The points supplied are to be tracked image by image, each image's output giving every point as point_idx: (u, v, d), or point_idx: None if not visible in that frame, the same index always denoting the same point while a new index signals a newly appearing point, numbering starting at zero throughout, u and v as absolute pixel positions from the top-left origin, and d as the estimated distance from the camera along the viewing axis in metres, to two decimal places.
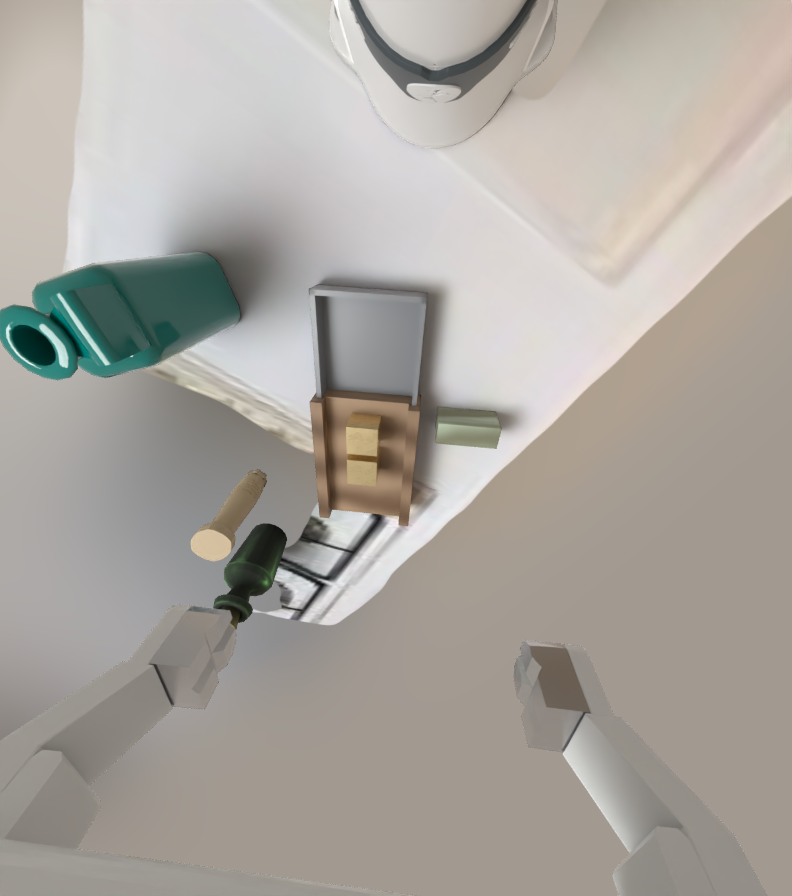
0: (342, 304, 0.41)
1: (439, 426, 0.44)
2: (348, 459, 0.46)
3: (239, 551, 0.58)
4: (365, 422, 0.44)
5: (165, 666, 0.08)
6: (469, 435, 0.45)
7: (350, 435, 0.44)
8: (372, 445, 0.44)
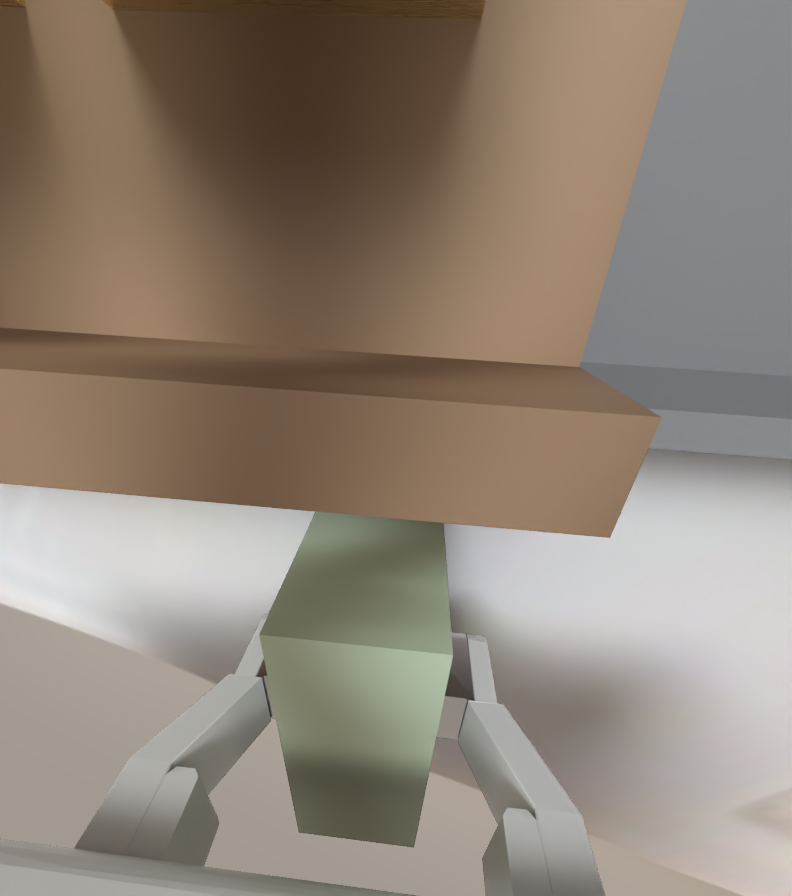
0: None
1: (424, 659, 0.05)
2: None
3: None
4: None
5: None
6: (360, 772, 0.07)
7: None
8: None
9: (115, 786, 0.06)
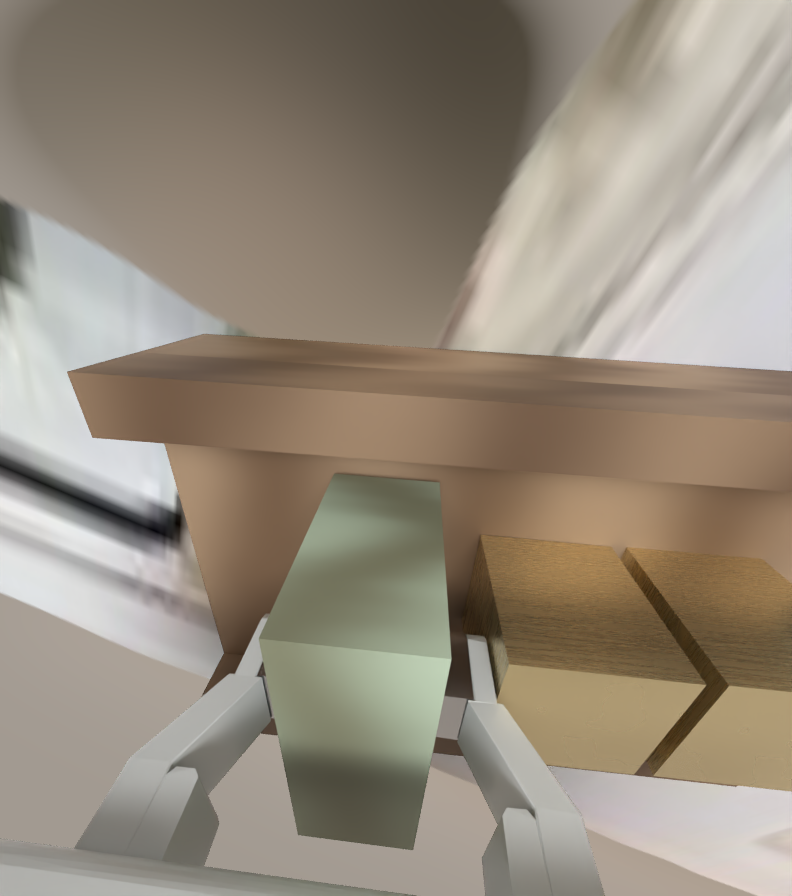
0: None
1: (422, 663, 0.05)
2: None
3: None
4: None
5: None
6: (359, 775, 0.07)
7: None
8: (731, 771, 0.08)
9: (115, 786, 0.06)
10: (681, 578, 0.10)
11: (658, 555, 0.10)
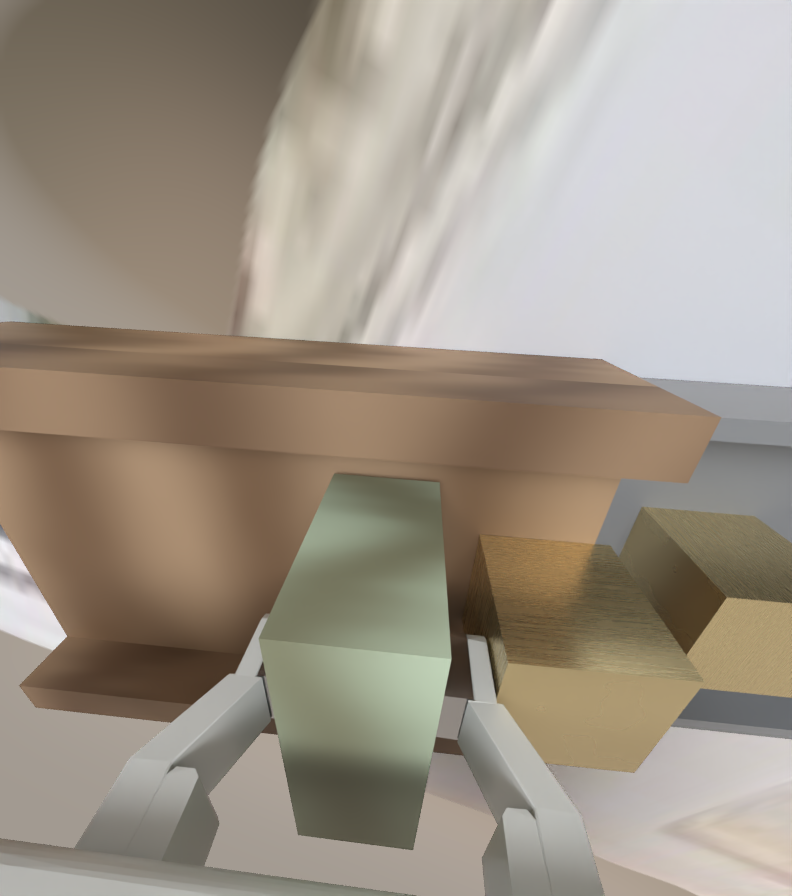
0: None
1: (422, 663, 0.05)
2: None
3: None
4: None
5: None
6: (359, 775, 0.07)
7: None
8: None
9: (114, 786, 0.06)
10: (741, 574, 0.10)
11: (713, 574, 0.10)
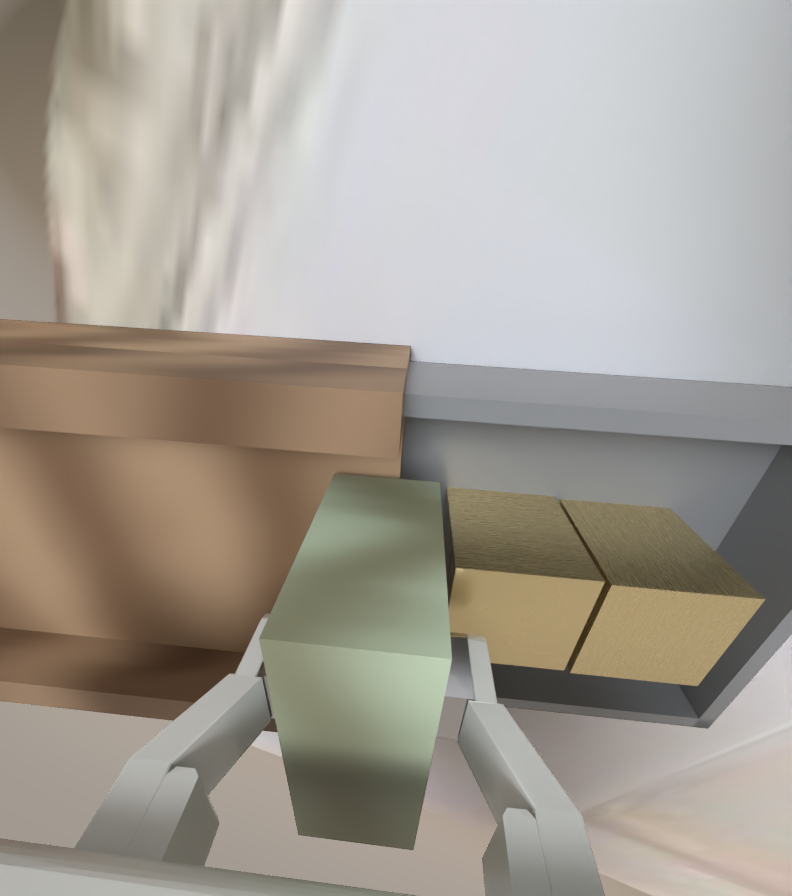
0: (722, 475, 0.12)
1: (423, 663, 0.05)
2: None
3: None
4: None
5: None
6: (360, 775, 0.07)
7: None
8: None
9: (114, 786, 0.06)
10: (635, 563, 0.10)
11: (606, 563, 0.10)
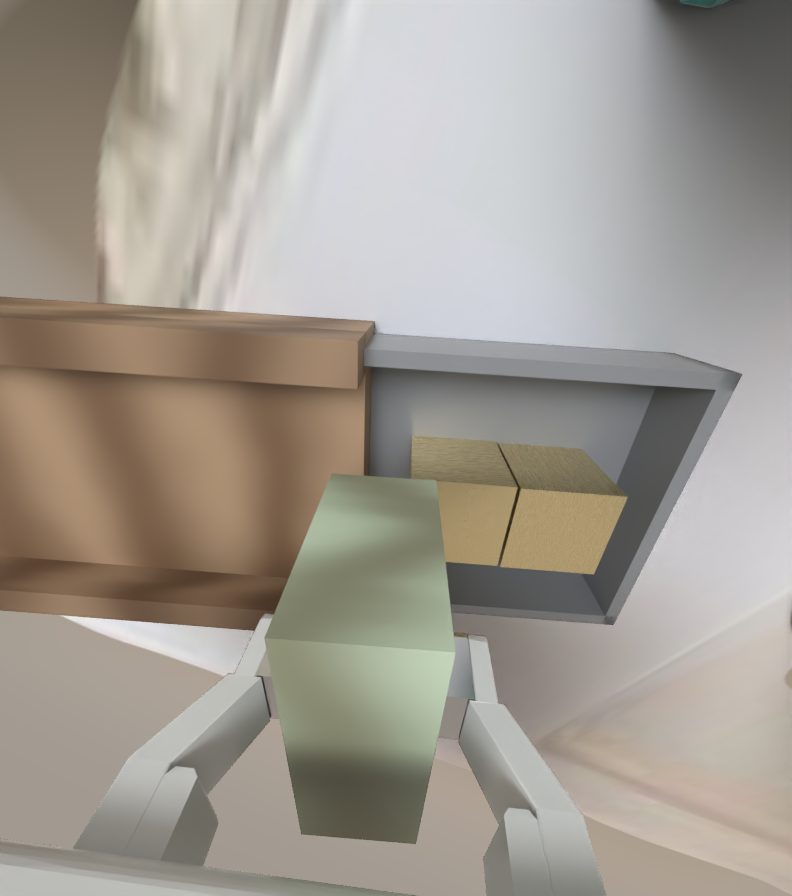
0: (612, 420, 0.16)
1: (427, 657, 0.05)
2: None
3: None
4: None
5: (271, 678, 0.08)
6: (363, 771, 0.07)
7: None
8: None
9: (114, 786, 0.06)
10: (542, 478, 0.14)
11: (521, 477, 0.14)
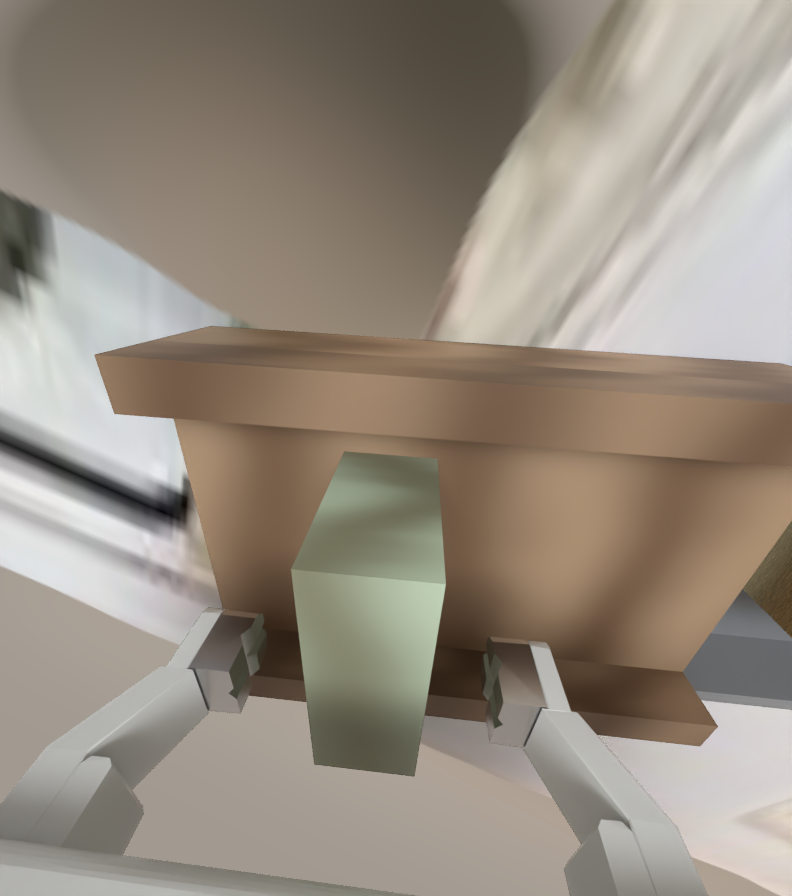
0: None
1: (422, 588, 0.07)
2: None
3: None
4: None
5: (204, 670, 0.08)
6: (369, 699, 0.09)
7: None
8: None
9: (26, 775, 0.06)
10: None
11: None
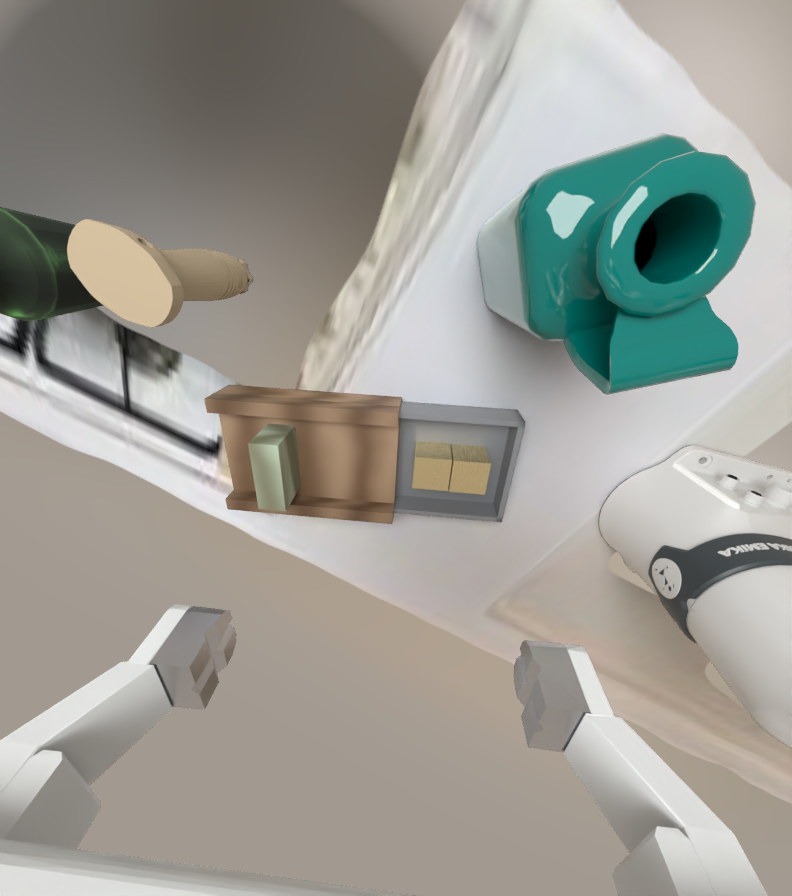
0: (496, 435, 0.40)
1: (273, 446, 0.34)
2: (451, 460, 0.37)
3: (62, 238, 0.28)
4: None
5: (165, 666, 0.08)
6: (268, 480, 0.36)
7: None
8: None
9: None
10: (463, 457, 0.38)
11: (455, 457, 0.38)
